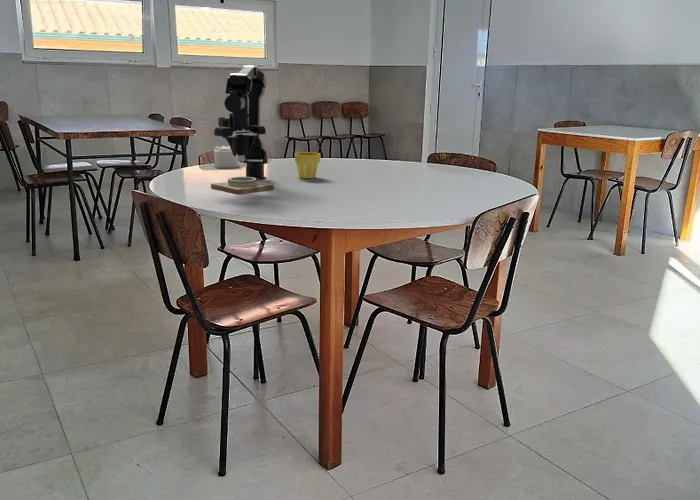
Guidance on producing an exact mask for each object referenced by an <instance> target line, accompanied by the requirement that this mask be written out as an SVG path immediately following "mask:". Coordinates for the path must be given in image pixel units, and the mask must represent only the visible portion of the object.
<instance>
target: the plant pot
mask: <svg viewBox="0 0 700 500" xmlns="http://www.w3.org/2000/svg"><path fill="white" fill-rule="evenodd" d="M294 162H295V163H296V167H297V174H298V178H300V177H301V178H300V179H304V178H312V179H315V178H316V176H317V171H318V166H319V163H321V153H319V152H311V151H300V152H299V151H298V152H295V153H294ZM314 177H315V178H314Z"/></svg>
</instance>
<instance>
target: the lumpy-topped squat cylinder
mask: <svg viewBox="0 0 700 500" xmlns="http://www.w3.org/2000/svg"><path fill="white" fill-rule="evenodd" d="M213 157H214V158H213V161H214V162H213V163H214V166H213V167H214V168H218V169H219V168H222V169H223V168H224V169H225V168H228V169H231V168H238V167H239V161H238V155H237V154H236V156H233V153H232V151H231V148H230V145H228V146H226V145H221V147H220V146H218V145H217V146H215V147H214V150H213Z"/></svg>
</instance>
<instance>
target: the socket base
mask: <svg viewBox="0 0 700 500" xmlns="http://www.w3.org/2000/svg"><path fill="white" fill-rule="evenodd" d="M257 180H258V179H256V178H253V177H246V176H233V177H228V178H227V181H222V182H215V183H210V189H214V190H219V191H223V192H227V193H231V194H236V195H241V194H248V193H254V192H261V191H262V192H263V191H268V190H269V191H270V190H274V188H275V186H274V184H271V183H266V182H260V181H257Z"/></svg>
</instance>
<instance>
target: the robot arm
mask: <svg viewBox="0 0 700 500" xmlns="http://www.w3.org/2000/svg"><path fill="white" fill-rule="evenodd" d="M266 88H267V79H266V76H265V73H264V72H263V71H261V70H260V69H259V67H258V65H255V64H245V65H243V67H242V69H241V70H239V72H232V73H231V72H230V74H229V76H228V77H227V79H226V87H225V94H227V95H228V94H229V95H228V96H227V97H225V100H224V104H223V105H224V107H225V109H226V110H227V111H228V112H230V113H229V115H228V118H226V117H224V116H223V117H221V116H220V117H218V118H217V119H218V120H217V124H218V127H215V129H214V131H213V133H214V136H216V137H222V139H223V138H224V139H225V141H227V143H228V146H230V148H231V151H232V153H233V156H236V154H237V145H238V137H236V135H239V134H244V135H245V136H246V137H247V138H248V139H249V146H248V148H247V150H246V153H245V159H244V161H243V162H242V163H243V164H246V167H245V177H253V178H256V179H257V180H263V179H264V180H265V179H267V176H265V164H268V155H267V151H266V149H265V144H264V142H263V140H262V139H261V135H266V134H267V130H266V127H265V126H264V125H261V99H262V98H263V96H264V95H265V92H266V91H265V90H266Z"/></svg>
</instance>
